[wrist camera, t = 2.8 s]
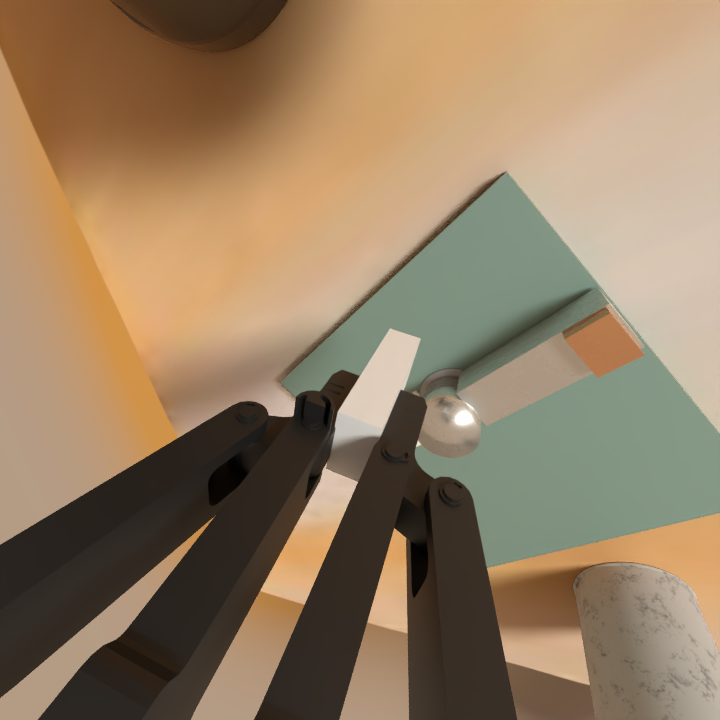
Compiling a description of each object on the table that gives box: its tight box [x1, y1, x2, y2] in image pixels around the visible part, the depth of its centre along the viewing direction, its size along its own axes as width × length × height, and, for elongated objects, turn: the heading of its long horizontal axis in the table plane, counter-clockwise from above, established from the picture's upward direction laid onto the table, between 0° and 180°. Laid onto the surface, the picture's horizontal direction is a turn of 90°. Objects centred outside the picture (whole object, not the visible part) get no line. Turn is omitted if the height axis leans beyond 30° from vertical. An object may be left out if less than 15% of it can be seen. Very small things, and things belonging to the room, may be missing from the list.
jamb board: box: [280, 171, 720, 568], centre depth 28 cm, size 28×24×4 cm
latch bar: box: [418, 287, 645, 458], centre depth 24 cm, size 14×4×4 cm, turn 136°
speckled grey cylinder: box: [573, 562, 720, 720], centre depth 29 cm, size 10×10×12 cm
